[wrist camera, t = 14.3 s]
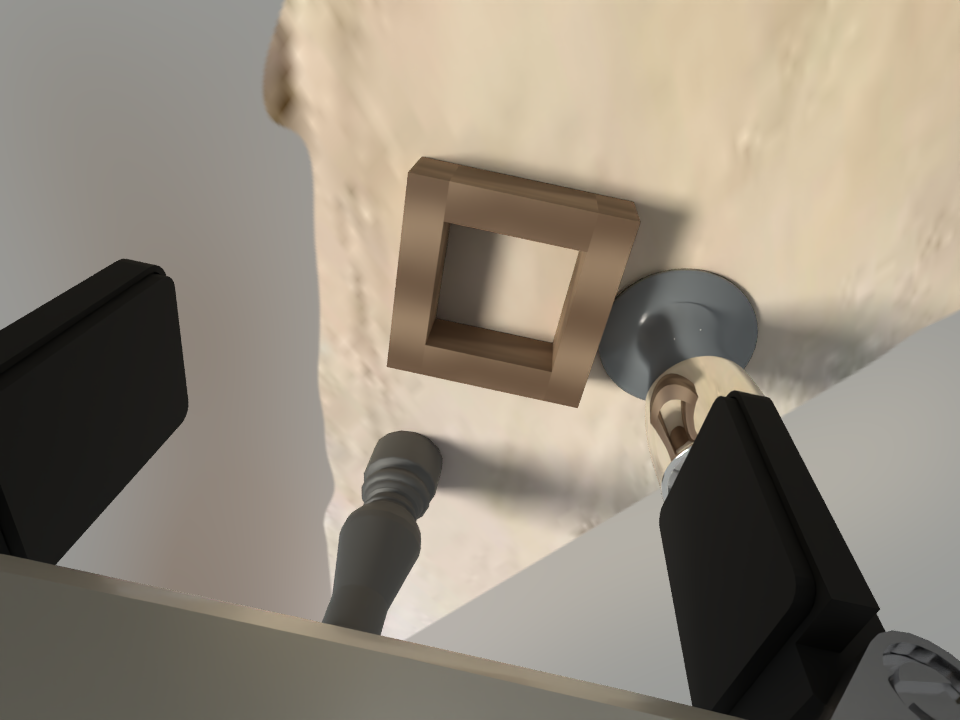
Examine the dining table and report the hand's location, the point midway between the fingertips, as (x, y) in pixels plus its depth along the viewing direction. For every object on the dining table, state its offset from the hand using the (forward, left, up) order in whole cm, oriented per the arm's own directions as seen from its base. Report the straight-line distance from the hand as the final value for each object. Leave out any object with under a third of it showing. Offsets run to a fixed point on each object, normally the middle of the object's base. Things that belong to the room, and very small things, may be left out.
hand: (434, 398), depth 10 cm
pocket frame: (+11, +1, -30) cm, 32 cm away
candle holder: (+30, -4, -31) cm, 43 cm away
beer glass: (+13, +14, -30) cm, 36 cm away
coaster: (+13, +14, -30) cm, 36 cm away
